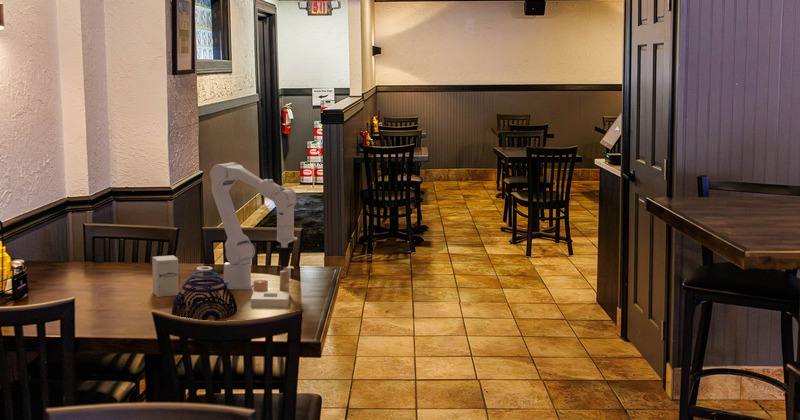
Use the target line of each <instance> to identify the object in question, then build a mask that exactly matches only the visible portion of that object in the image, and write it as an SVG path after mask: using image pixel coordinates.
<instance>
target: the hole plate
mask: <svg viewBox="0 0 800 420" xmlns="http://www.w3.org/2000/svg"><path fill="white" fill-rule="evenodd" d="M290 293H291V292H290V290H289V291H280V290H279V291H278V290H276V291H274V290H273V291H272V290H271V291H269V290H268V291H254V292H253V293H252V294H251V297H250V307H251V306H263V307H264V306H265V307H267V308H269V307H270V308H273V307H274V308H275V307H276V308H279V307H280V308H288V307H289V303H290V295H291V294H290Z"/></svg>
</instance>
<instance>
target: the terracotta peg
mask: <svg viewBox="0 0 800 420" xmlns="http://www.w3.org/2000/svg"><path fill="white" fill-rule="evenodd" d="M268 282H269V281H268V280H267V279H256V280H254V281H253V282H252V283H253V285H252V287H253V289H252V291H253V292H254V291H269V286H268V284H269V283H268Z"/></svg>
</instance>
